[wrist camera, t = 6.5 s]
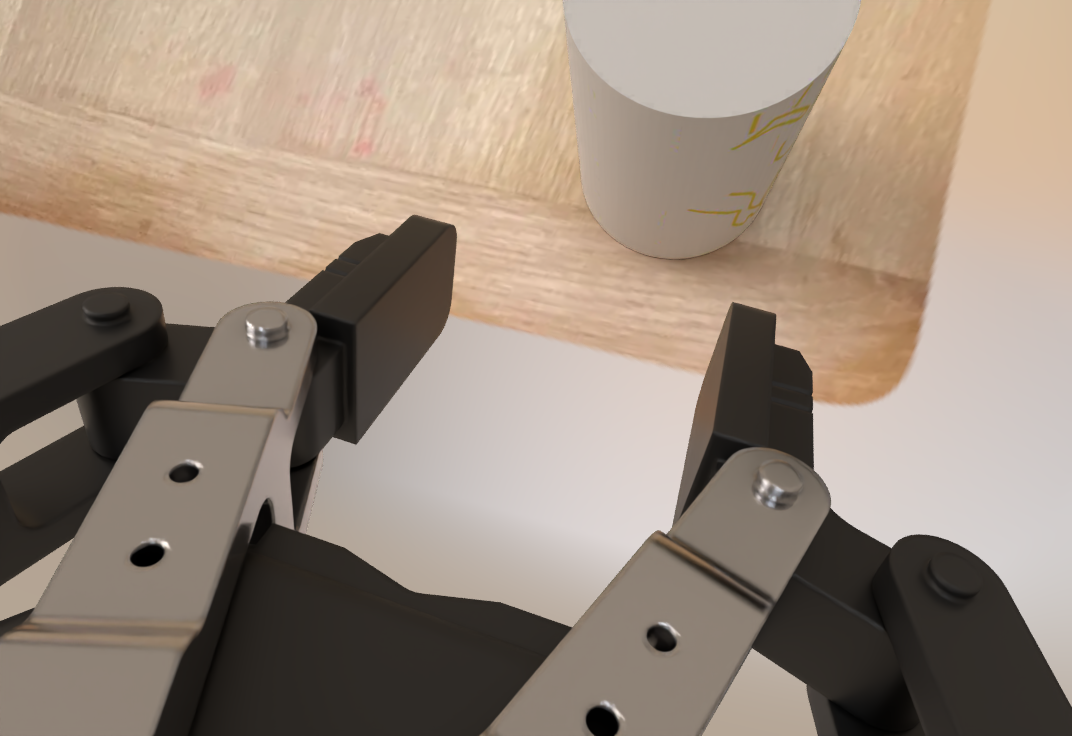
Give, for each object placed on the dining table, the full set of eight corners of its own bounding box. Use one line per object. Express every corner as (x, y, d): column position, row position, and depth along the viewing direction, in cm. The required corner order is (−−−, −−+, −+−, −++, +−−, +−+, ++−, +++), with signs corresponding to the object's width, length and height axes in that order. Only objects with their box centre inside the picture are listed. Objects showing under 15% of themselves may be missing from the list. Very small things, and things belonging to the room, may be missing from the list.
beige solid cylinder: (726, 288, 31) (793, 161, 19) (550, 216, 32) (514, 57, 21) (799, 120, 32) (908, -98, 20) (626, 58, 33) (633, -181, 22)
